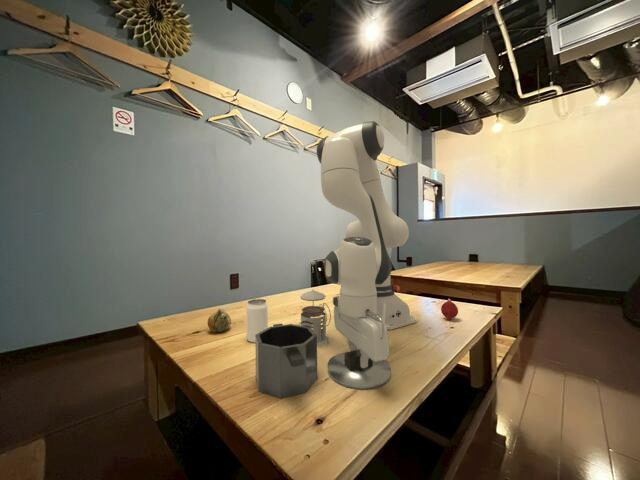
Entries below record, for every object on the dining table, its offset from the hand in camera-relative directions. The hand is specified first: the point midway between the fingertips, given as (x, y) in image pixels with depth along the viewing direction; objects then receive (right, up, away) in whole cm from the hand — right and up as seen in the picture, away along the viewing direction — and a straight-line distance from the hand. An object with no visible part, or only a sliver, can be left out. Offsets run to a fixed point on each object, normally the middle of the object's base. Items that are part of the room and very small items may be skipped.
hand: (358, 361), depth 60 cm
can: (-29, -2, +19) cm, 35 cm away
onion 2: (+40, -2, +35) cm, 54 cm away
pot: (-17, -2, -3) cm, 17 cm away
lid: (0, -2, 0) cm, 2 cm away
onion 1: (-44, -2, +26) cm, 51 cm away
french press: (-11, -2, +17) cm, 21 cm away
